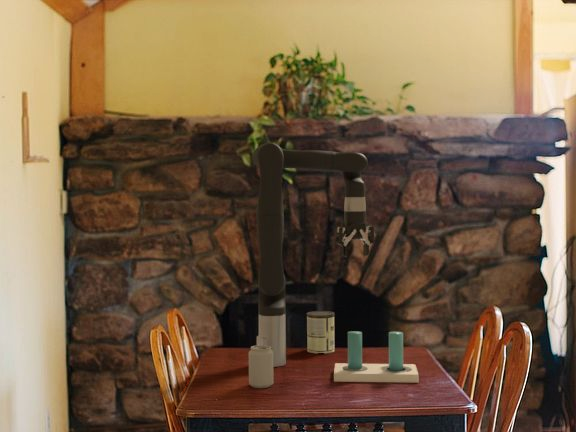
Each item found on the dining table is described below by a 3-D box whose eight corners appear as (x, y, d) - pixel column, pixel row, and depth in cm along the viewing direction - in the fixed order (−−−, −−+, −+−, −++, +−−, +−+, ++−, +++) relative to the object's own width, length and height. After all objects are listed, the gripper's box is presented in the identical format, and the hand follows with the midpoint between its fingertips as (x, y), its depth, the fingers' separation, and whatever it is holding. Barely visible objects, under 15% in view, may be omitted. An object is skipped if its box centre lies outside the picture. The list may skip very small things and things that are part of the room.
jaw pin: (393, 379, 241) (393, 334, 241) (386, 376, 245) (386, 332, 245) (406, 377, 243) (405, 333, 243) (398, 374, 247) (397, 331, 247)
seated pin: (352, 378, 242) (352, 334, 242) (345, 375, 247) (345, 332, 246) (364, 377, 244) (364, 333, 244) (357, 374, 248) (357, 330, 248)
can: (277, 383, 237) (276, 344, 236) (268, 389, 230) (268, 349, 229) (254, 381, 239) (253, 343, 239) (245, 387, 232) (244, 348, 232)
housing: (418, 382, 237) (418, 374, 237) (333, 381, 239) (333, 372, 239) (415, 371, 251) (415, 363, 251) (335, 370, 253) (335, 362, 253)
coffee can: (307, 347, 291) (307, 310, 290) (335, 348, 290) (335, 310, 289) (305, 353, 280) (305, 315, 280) (334, 354, 279) (333, 315, 279)
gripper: (342, 210, 264) (342, 257, 264) (378, 210, 270) (378, 256, 270) (332, 210, 270) (332, 256, 271) (366, 209, 277) (367, 254, 277)
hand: (355, 256), depth 271 cm, fingers open, 8 cm apart
